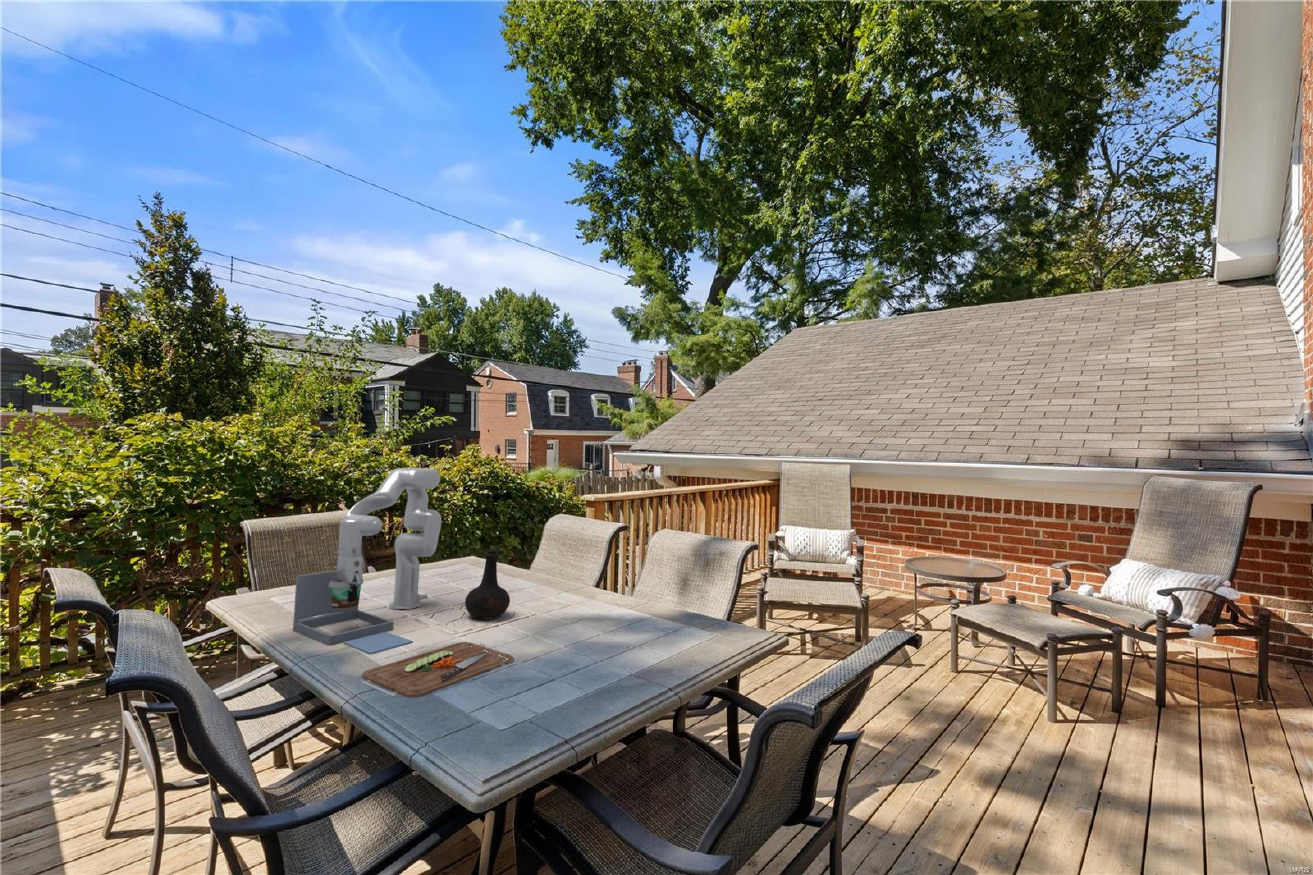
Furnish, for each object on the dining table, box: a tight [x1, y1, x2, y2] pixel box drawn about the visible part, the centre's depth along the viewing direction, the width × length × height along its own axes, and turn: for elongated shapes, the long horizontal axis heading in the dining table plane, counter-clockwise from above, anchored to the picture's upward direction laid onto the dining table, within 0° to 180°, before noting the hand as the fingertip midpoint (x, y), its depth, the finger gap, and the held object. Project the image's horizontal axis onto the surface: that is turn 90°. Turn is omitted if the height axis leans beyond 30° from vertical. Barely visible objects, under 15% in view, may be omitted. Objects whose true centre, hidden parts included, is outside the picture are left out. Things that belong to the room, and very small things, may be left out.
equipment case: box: [292, 569, 395, 646], centre depth 218 cm, size 24×25×20 cm
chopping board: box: [360, 641, 515, 698], centre depth 187 cm, size 45×27×3 cm, turn 148°
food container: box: [328, 578, 364, 608], centre depth 219 cm, size 12×6×10 cm, turn 145°
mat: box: [343, 631, 414, 655], centre depth 206 cm, size 16×16×1 cm
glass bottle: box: [464, 548, 511, 619], centre depth 245 cm, size 18×18×28 cm
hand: (347, 599), depth 219 cm, fingers closed on food container, 5 cm apart
